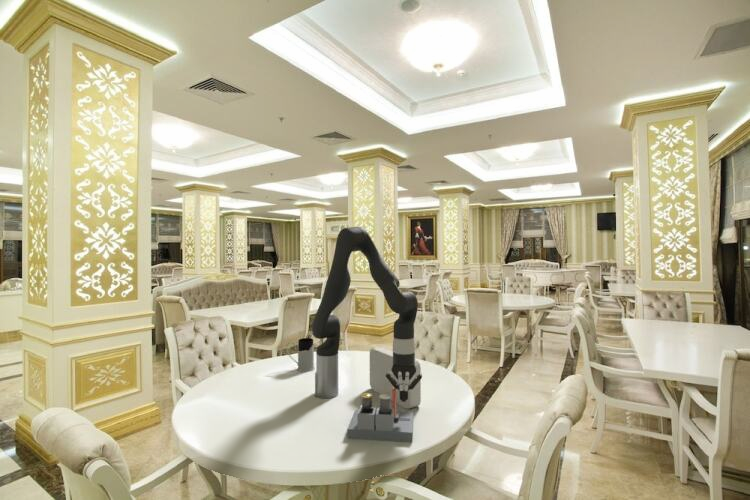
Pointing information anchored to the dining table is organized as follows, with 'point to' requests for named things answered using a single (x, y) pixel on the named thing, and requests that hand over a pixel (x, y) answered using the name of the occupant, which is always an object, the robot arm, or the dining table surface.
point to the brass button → (366, 402)
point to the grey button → (385, 403)
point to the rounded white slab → (381, 365)
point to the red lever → (394, 404)
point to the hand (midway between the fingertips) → (403, 400)
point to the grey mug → (305, 354)
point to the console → (381, 426)
